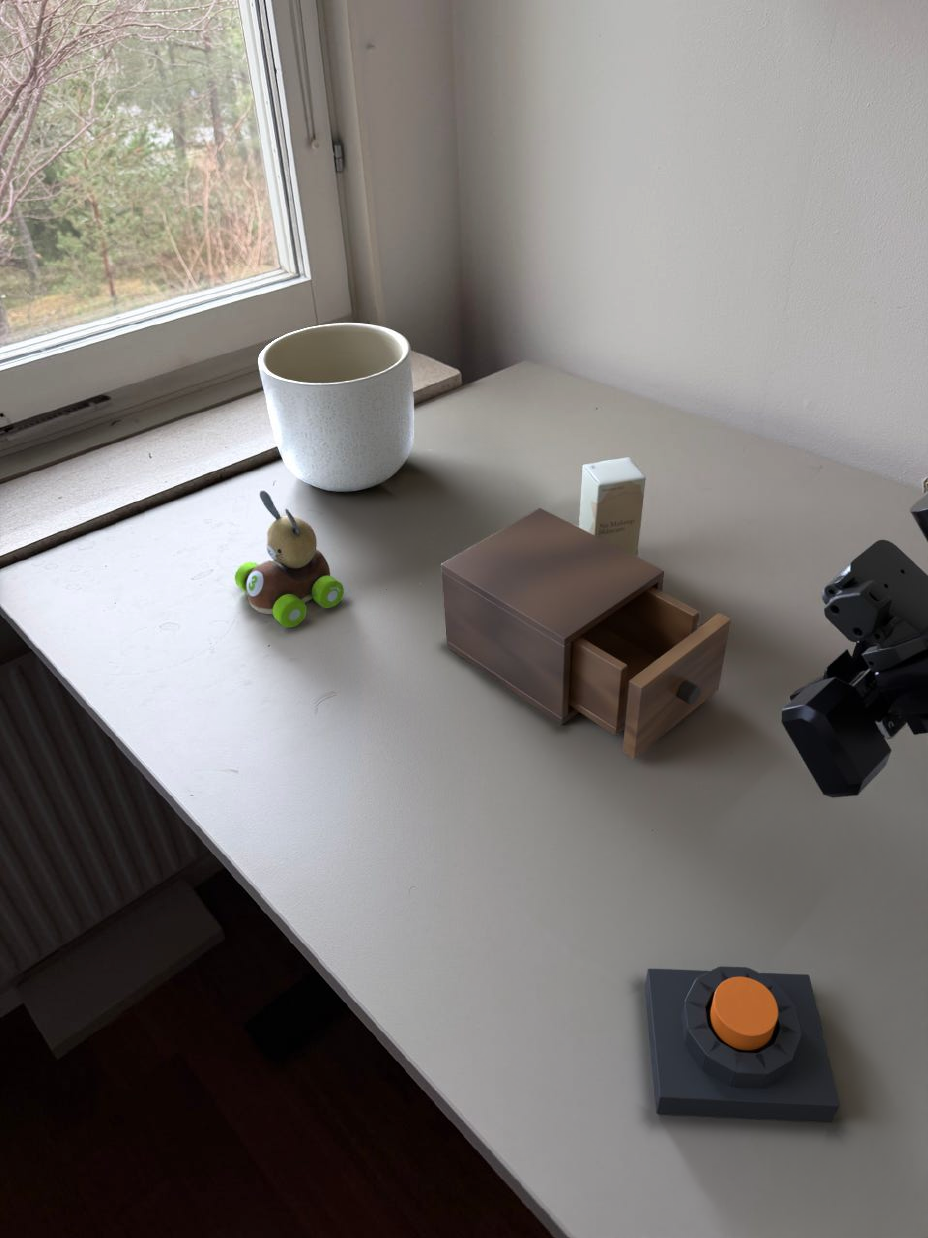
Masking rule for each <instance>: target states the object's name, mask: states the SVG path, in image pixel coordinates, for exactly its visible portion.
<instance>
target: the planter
mask: <svg viewBox="0 0 928 1238" xmlns="http://www.w3.org/2000/svg"><path fill="white" fill-rule="evenodd" d="M257 364H258V370H259V374H260V375H259V376H260V380H261V384H262V389H263V394H264V398H265V403H266V406H267V412H268V416H269V420H270V424H271V428H272V433H273V436H274V437H273V438H274V440H275V443H276V446H277V448H278V452H279V455H280V457H281V459H282V460H283V463H284V465H285V466H286V468H288V470H289V471H290V472H291V473H292V474H293V475H294V476H295V477H297V478H298V479H300V480H301V481H303V482H304V483H306V484H309V485H310V486H311V487H312V486H313V487H314V488H318V489H321V490H325V491H330V492H338V493H339V492H340V493H347V492H349V493H350V492H356V491H357V492H358V491H362V490H366V489H369V488H373V487H375V486H377V485H379V484H381V483H383V482H385V481H387V480H388V479H390V478H391V477H392V476H393V475H394V474H396V473H398V471H399V470H400V469H401V468H402V467H403V466H404V464H405V463H406V462H407V459H408V458H409V456H410V454H411V452H412V449H413V443H414V436H415V435H414V434H415V402H414V401H415V397H414V378H413V360H412V348H411V344H410V342H409V341H408V339H407V338H406V337H405V336H404V335H403V334H402V333H400V332H398V331H396V330H394V329H391V328H388V327H385V326H381V325H376V324H368V323H359V322H357V323H356V322H343V323H341V322H340V323H328V324H321V325H316V326H310V327H306V328H302V329H299V330H295V331H292V332H289V333H287V334H284V335H283V336H280V337H279V338H276V339H274V340H273V341H272V342H271V343H270V342H269V344H268V345H266V346H265V347H264V349H263V350H262V351H261V352H260V354H259V356H258V360H257Z"/></svg>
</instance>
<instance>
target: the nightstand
mask: <svg viewBox="0 0 928 1238" xmlns="http://www.w3.org/2000/svg"><path fill="white" fill-rule="evenodd" d="M440 569H441V570H440V571H441V584H442V587H441V588H442V598H443V600H442V601H443V613H444V614H443V615H444V628H445V640H446V642H445V643H446V647H447V648H448V649H449V650H451V651H452V652H453V653H455V654H457V655H458V656H459V657H461V658H462V659H463V660H465V661H467V662H468V663H470V664H471V665H472V666H474V667H476V668H477V669H479V670H480V671H482V672H483V673H484V674H486V675H487V676H489V677H490V678H492V679H493V680H494V681H496V682H497V683H499V684H501V686H504V687H505V688H506V689H508V690H509V691H511V692H512V693H514V694H515V695H517V696H518V697H520V698H521V699H522V700H524V701H526V702H527V704H530V705H531V706H533V707H534V708H535V709H537V710H539V711H540V712H542V713H543V714H545V715H546V716H548V717H549V718H550V719H552V720H553V721H555V722H556V723H558V724H559V725H561V726H563V725H565V724H566V723H567V722H568V721H569V720H571V719H573V717H575V716H576V715H578V714H579V713H580V712H579V711H577V710H576V709H574V708H573V707H571V706H570V705H568V703H569V678H570V653H571V642H572V641H573V640H575V639H576V638H578V637H579V636H580V635H582V634H583V633H585V632H586V631H588V630H589V629H591V628H592V627H594V626H595V625H596V624H598V623H599V622H601V621H602V620H604V619H605V618H607V617H608V616H609V615H611V614H612V613H614V612H615V611H617V610H618V609H620V608H621V607H623V606H624V605H625V604H627V603H628V602H630V601H631V600H633V599H634V598H636V597H637V596H638V595H640V594H641V593H643V592H644V591H646V590H647V589H649V588H650V587H653V588H655V589H657V590H659V591H661V592H663V588H664V582H665V581H664V579H665V569H663V568H660V567H658V566H656V565H654V564H652V563H650V562H648V561H646V560H644V559H642V558H641V557H638V556H637V557H636V556H634V555H632V554H630V553H628V552H626V551H624V550H622V549H620V548H618V547H616V546H615V545H613V544H611V543H609V542H607V541H605V540H603V539H601V538H599V537H597V536H595V535H593V534H591V533H589V532H587V531H585V530H583V529H581V528H579V526H577V525H575V524H573V523H571V522H569V521H567V520H565V519H563V518H561V517H559V516H557V515H555V514H553V513H552V512H550V511H547V510H545V509H543V508H542V507H539V508H536V509H535V510H533V511H532V512H529V514H527V515H524V516H523V517H521V518H519V519H517V520H516V521H514V522H512V523H511V524H509V525H507V526H505V527H503V528H501V529H500V530H498V531H497V532H495V533H493V534H491V535H489V536H488V537H486V538H484V539H483V540H481V541H479V542H477V543H475V544H474V545H472V546H470V547H468V548H466V549H465V550H463V551H461V552H459V553H458V554H456V555H455V556H452V557H450V558H449V559H447V560H446V561H444V562H442V563H441V564H440Z"/></svg>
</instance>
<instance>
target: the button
mask: <svg viewBox="0 0 928 1238" xmlns="http://www.w3.org/2000/svg"><path fill="white" fill-rule="evenodd" d="M710 1019H711V1023H712V1026H713V1028H714V1030H715V1032H716V1033H717V1035H718V1036H719V1037H720V1038H721V1039H722V1040H723V1041H724V1042H725V1043H727V1044H728V1045H730V1046H732V1047H734V1048H737V1049H740V1050H747V1051H748V1050H756V1049H759V1048H761V1047H763V1046H764V1045H766V1044H767V1043H768V1042H769V1040H770V1039H771V1037H772V1034H773V1031H774V1028H775V1025H776V1022H777V1019H778V1006H777V1003H776V1000H775V998H774V996H773V995H772V993H771V992H770V991H769V990H768V989H767V988H766V987H765V986H764V985H762V984H761V983H759V982H758V981H756V980H753V979H751V978H747V977H733V978H729V979H727V980H725V981H723V982H722V983H721V984H720V985H719V986H718V988H717V989H716V991H715V994H714V999H713V1003H712V1007H711V1011H710Z"/></svg>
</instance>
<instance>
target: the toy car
mask: <svg viewBox="0 0 928 1238" xmlns="http://www.w3.org/2000/svg"><path fill="white" fill-rule="evenodd" d="M259 498H260V500H261V503H262V504H263V506H264V507H265V508H266V510H267V512H269V513H270V515H272V517H273V518H274V519H275V520H274V521H273V522H272V523H271V524H269V527H268V529H267V532H266V551H267V554H268V556H269V557H270V558H271V559H272V560H266V561H264V562H262V563H260V564H258V563H257V562H255V561H247V562H244V563H242V564H241V565H240V566H239V567H238V568H237V569H236V571H235V573H234V581H235V582H234V583H235V584H236V586H237V587H238V588H240V589H241V590H242V591H243V592H244V593H246V595H247V598H248V602H249V604H250V606H251V607H252V608H253V609H254V610H256V611H257V612H259V613H261V614H266V615H272V616H273V617H274V619H275V620H276V621H277V622H278V623H279V624H280V625H281V626H283V627H285V628H295V627H296V626H298V625H299V624H301V623H302V621H303V620H304V619H305V617H306V615H307V606H306V603H308V602H309V601H311V600H312V599H313V601H314V602H315V603H317V604H318V605H319V606H321V607H322V608H324V609H331V608H334V607H336V606H337V605H338V604H339V603H340V602H341V601H342V600H343V597H344V595H345V587H344V585H343V583H341V582H340V581H339V579H337V578H335V577H334V576H333V575H331V569H330V566H329V563H328V561H327V559H326V557H325V556H324V554H323V553H322V552H321V551H320V550H319V549H317V548H318V540H317V535H316V532H315V530H314V529H313V527H312V526H311V524H309V523H308V522H307V521H305V520H304V519H302V518H300V517H297V516H293V515H292V514H291V512H290V511H289V509H288V508H285V509H284V510H285V513H286V515H287V516H281V515H280V513H279V510H278V509H277V507H276V506H275V504H274V501H273V500H272V496H270V494H269V493H268V492H267V491H265V490H261V491H259Z"/></svg>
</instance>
